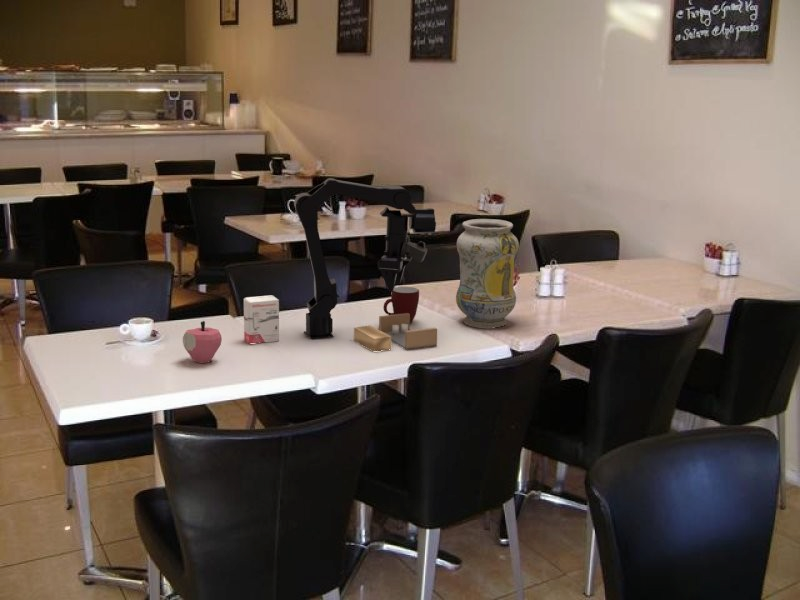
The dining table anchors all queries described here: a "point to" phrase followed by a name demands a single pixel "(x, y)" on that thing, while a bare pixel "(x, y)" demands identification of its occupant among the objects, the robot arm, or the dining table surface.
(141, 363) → the dining table surface
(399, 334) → the peg stand
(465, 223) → the vase
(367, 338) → the tan wooden block
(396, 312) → the mug
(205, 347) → the apple
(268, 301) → the ink box
